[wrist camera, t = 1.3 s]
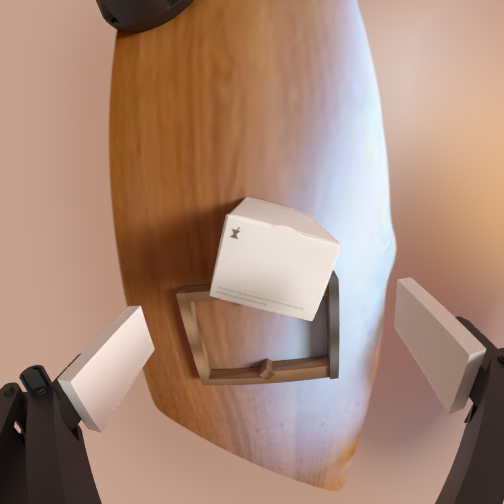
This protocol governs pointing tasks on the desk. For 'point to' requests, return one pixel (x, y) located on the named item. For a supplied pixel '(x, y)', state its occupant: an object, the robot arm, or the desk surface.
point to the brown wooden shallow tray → (268, 368)
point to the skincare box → (274, 259)
